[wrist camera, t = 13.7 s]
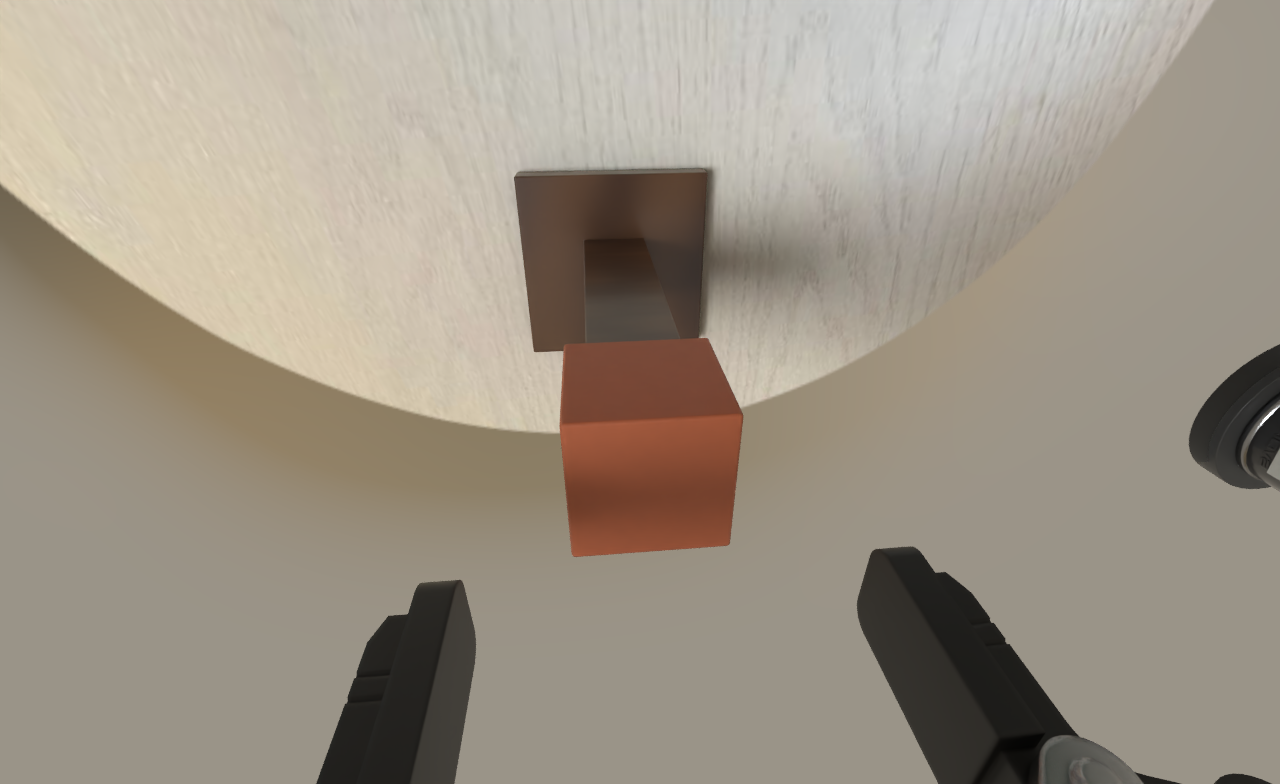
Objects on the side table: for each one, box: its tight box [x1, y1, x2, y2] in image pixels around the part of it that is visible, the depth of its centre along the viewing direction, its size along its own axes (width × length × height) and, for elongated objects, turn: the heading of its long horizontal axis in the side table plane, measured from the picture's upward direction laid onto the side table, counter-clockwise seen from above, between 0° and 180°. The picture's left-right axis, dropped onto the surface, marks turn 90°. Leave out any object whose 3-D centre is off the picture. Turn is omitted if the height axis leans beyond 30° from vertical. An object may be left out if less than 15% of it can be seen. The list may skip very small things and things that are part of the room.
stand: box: [514, 168, 707, 352], centre depth 23 cm, size 9×9×14 cm
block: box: [560, 338, 743, 557], centre depth 15 cm, size 4×4×4 cm
